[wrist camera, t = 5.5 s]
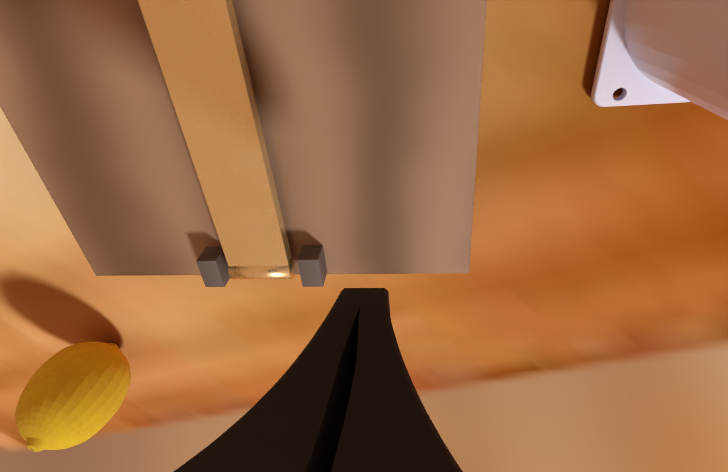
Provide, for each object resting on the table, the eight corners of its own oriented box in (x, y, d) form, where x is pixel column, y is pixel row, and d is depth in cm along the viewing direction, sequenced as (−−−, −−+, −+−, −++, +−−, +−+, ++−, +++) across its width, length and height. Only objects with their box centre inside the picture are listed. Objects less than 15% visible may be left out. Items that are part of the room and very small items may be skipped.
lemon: (61, 321, 30) (-39, 423, 23) (127, 314, 29) (41, 420, 22) (103, 371, 33) (24, 474, 26) (164, 367, 32) (98, 474, 25)
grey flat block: (481, -120, 14) (506, -149, 11) (462, 238, 22) (473, 295, 19) (-19, -56, 17) (-145, -61, 13) (127, 244, 25) (76, 295, 21)
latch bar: (229, -25, 14) (217, -23, 13) (296, 270, 21) (291, 283, 20) (146, -16, 14) (129, -14, 13) (239, 270, 21) (231, 283, 20)
